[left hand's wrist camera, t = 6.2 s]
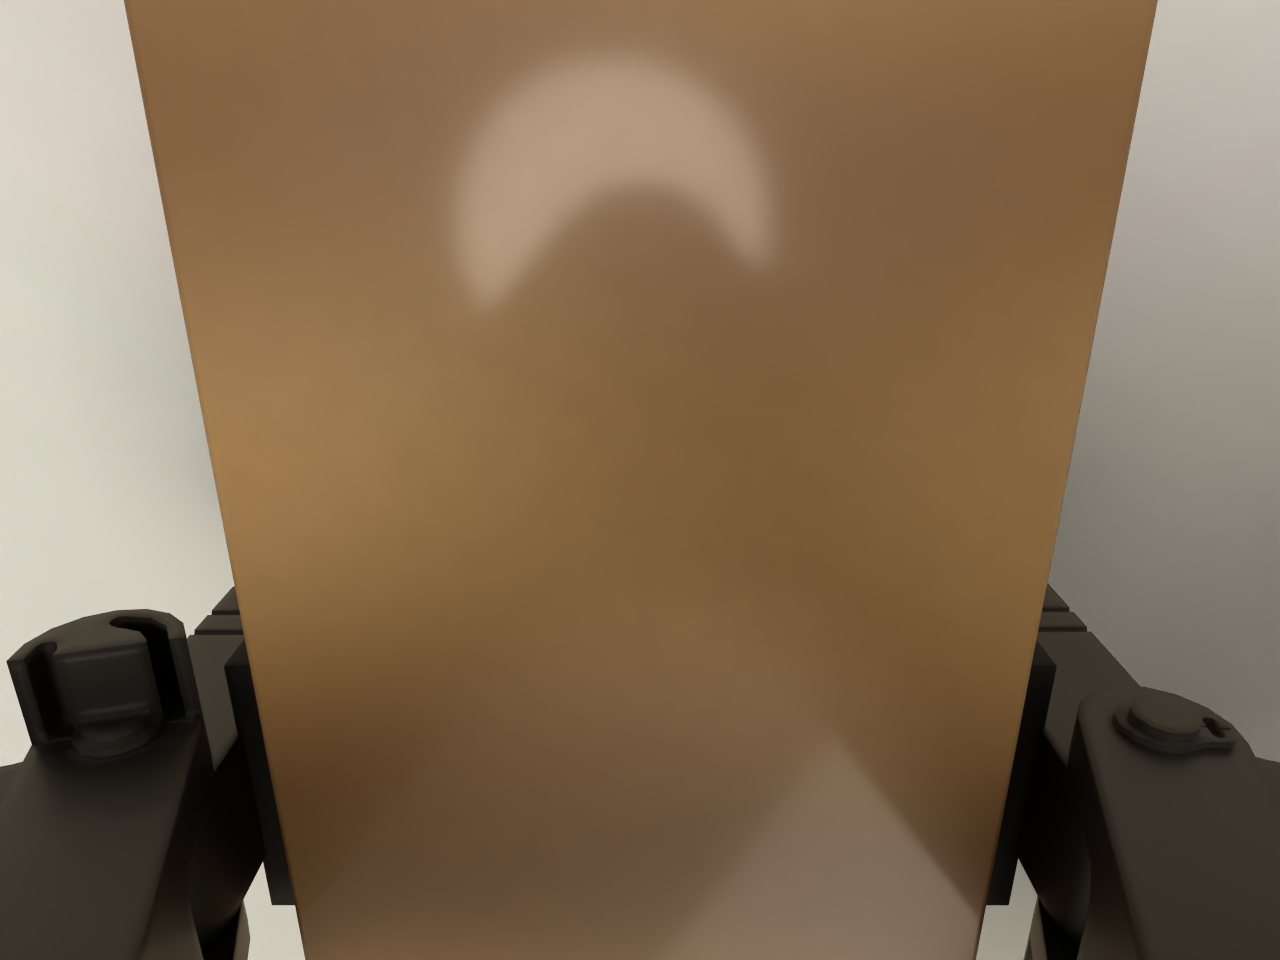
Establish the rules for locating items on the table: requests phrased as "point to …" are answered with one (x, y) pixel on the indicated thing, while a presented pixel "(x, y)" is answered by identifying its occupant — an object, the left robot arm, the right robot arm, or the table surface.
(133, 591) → the table surface
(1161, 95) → the table surface
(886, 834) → the post
